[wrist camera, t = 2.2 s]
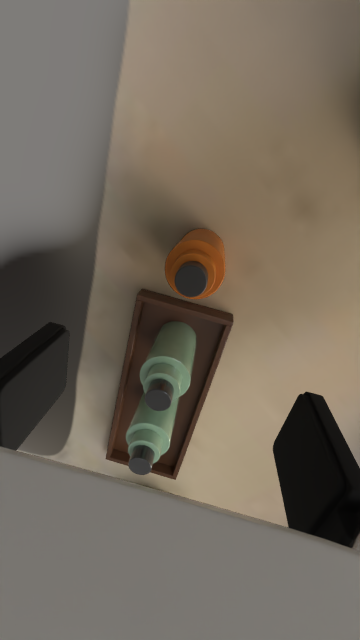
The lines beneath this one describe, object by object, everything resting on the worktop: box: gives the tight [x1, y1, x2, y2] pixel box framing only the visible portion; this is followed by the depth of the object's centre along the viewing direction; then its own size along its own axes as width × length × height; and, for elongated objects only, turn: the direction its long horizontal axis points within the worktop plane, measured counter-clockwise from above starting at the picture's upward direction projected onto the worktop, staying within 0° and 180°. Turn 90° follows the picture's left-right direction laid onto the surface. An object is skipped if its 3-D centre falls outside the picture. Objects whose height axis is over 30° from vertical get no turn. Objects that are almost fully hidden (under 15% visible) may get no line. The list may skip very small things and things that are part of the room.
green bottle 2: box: [126, 390, 180, 475], centre depth 31 cm, size 5×5×10 cm
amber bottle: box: [165, 229, 225, 299], centre depth 23 cm, size 5×5×10 cm
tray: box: [106, 289, 233, 480], centre depth 35 cm, size 25×10×2 cm, turn 166°
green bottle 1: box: [140, 321, 197, 411], centre depth 27 cm, size 5×5×10 cm
